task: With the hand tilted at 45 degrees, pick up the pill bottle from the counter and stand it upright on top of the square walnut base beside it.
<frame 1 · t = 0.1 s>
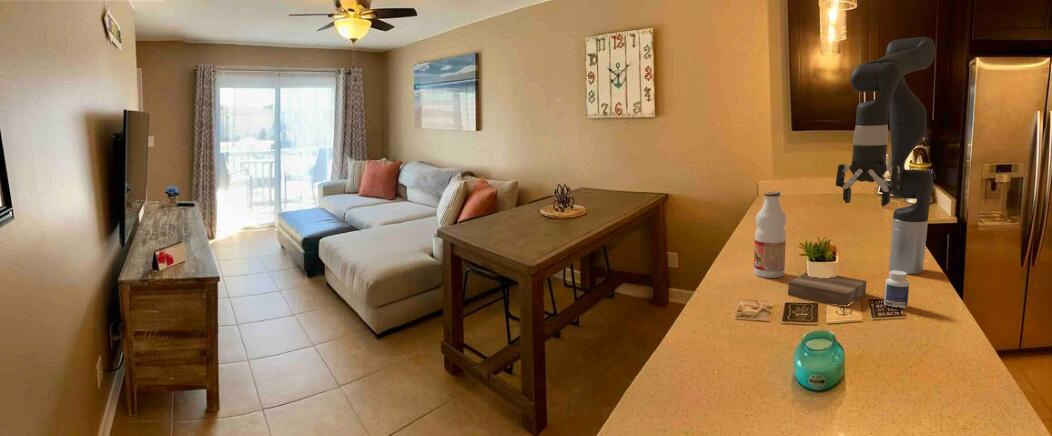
hand: (865, 204, 142), 29 cm above the kitchen counter, tool pointing down, fingers open, 8 cm apart
fruit juice: (768, 274, 180), on the kitchen counter
pill bottle: (895, 306, 148), on the kitchen counter
walnut base: (826, 294, 160), on the kitchen counter
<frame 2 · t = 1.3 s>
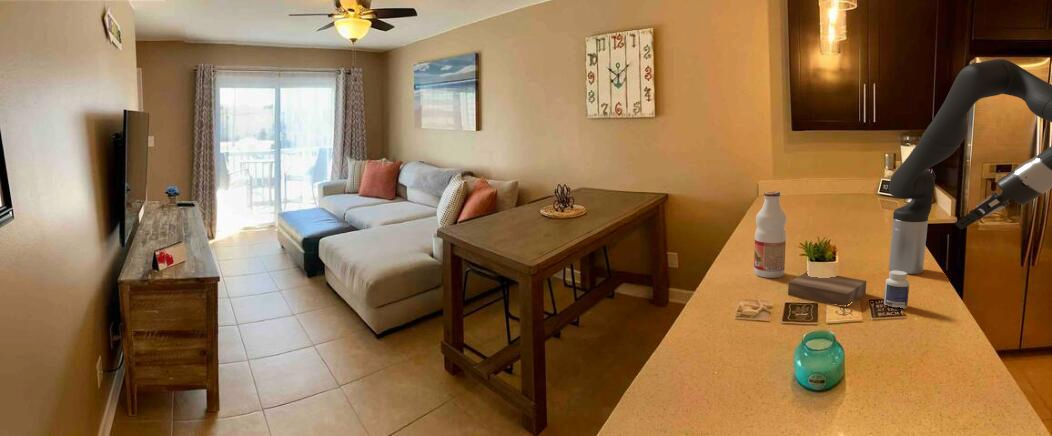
hand: (962, 223, 133), 25 cm above the kitchen counter, tool tilted 45°, fingers open, 8 cm apart
nothing on the kitchen counter moved.
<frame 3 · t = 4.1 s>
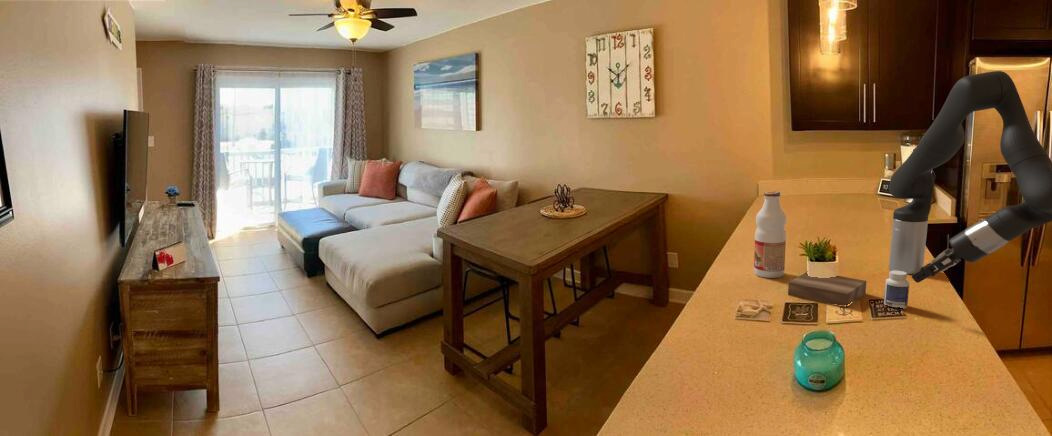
hand: (918, 275, 143), 10 cm above the kitchen counter, tool tilted 45°, fingers open, 8 cm apart
nothing on the kitchen counter moved.
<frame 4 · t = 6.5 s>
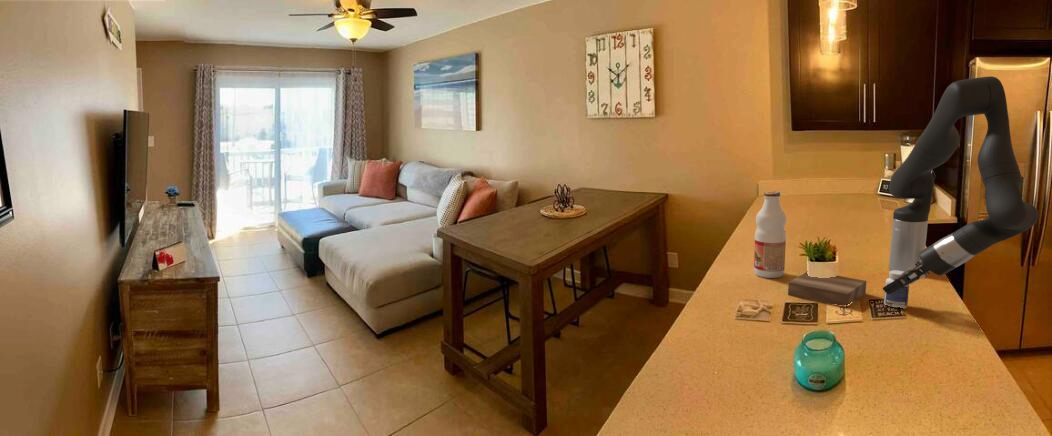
hand: (889, 288, 149), 5 cm above the kitchen counter, tool tilted 45°, fingers closed on pill bottle, 5 cm apart
pill bottle: (895, 306, 148), on the kitchen counter, touching gripper
everything else where it was.
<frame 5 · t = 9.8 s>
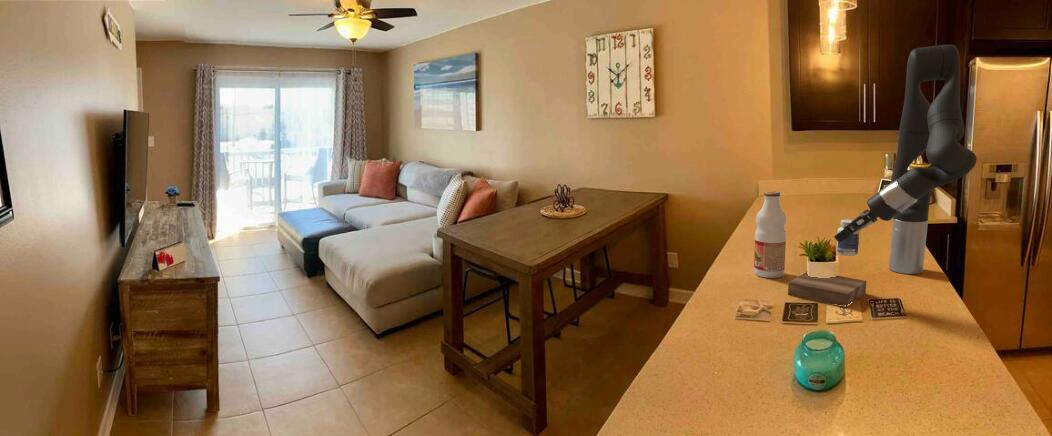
hand: (840, 237, 154), 18 cm above the kitchen counter, tool tilted 45°, fingers closed on pill bottle, 5 cm apart
pill bottle: (846, 254, 154), point 13 cm above the kitchen counter, touching gripper
everything else where it was.
when the fingers open (10 cm above the kitchen counter, at t = 13.0 s): pill bottle drops 1 cm, resting on walnut base.
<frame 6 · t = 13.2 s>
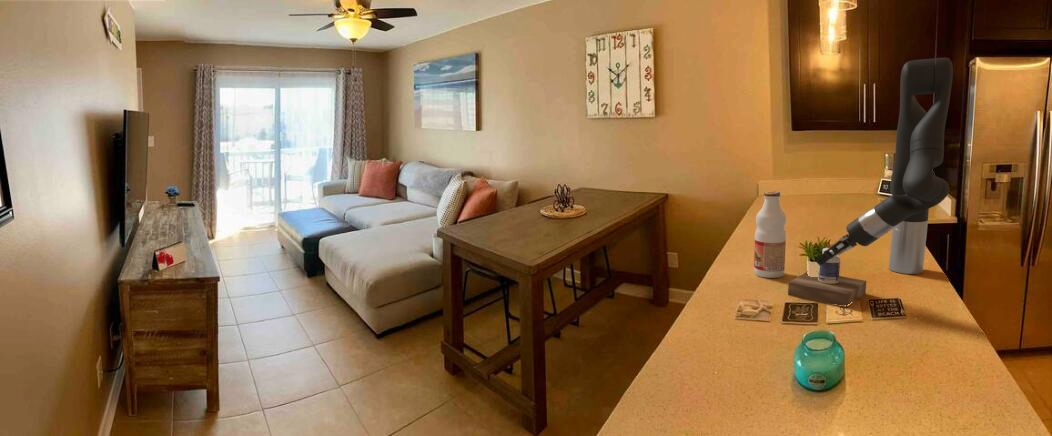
hand: (822, 259, 159), 10 cm above the kitchen counter, tool tilted 45°, fingers open, 6 cm apart
pill bottle: (828, 282, 159), point 4 cm above the kitchen counter, touching walnut base
everything else where it was.
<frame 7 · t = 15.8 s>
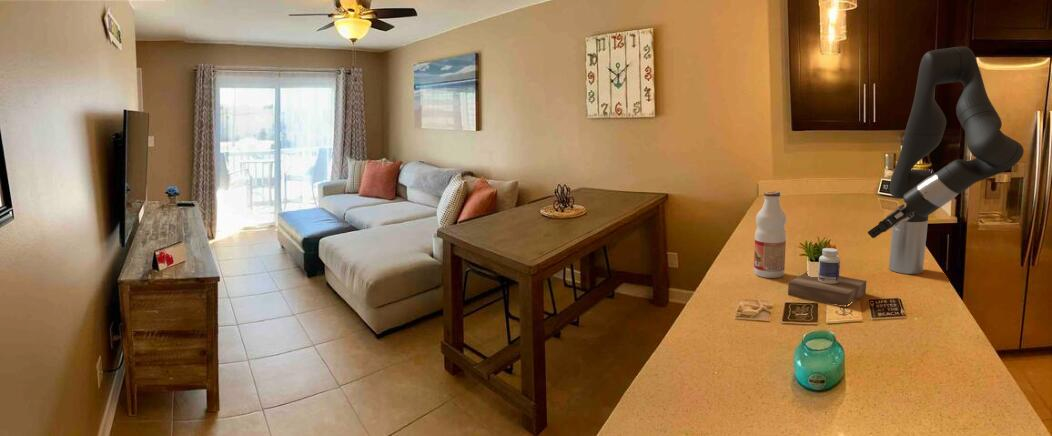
hand: (875, 232, 147), 21 cm above the kitchen counter, tool tilted 45°, fingers open, 8 cm apart
nothing on the kitchen counter moved.
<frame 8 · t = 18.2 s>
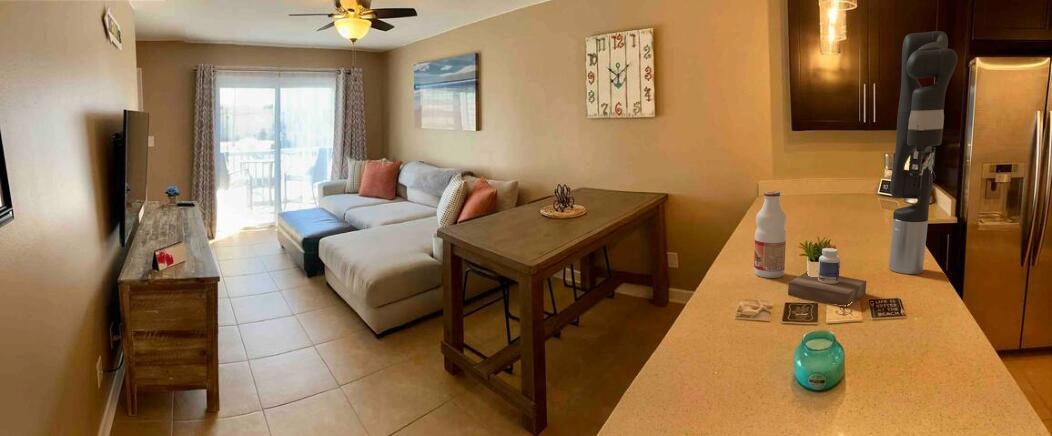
hand: (919, 187, 147), 32 cm above the kitchen counter, tool pointing down, fingers open, 8 cm apart
nothing on the kitchen counter moved.
at the end: pill bottle inside the target area on the walnut base (0.3 cm from its centre), point 3.8 cm above the walnut base's base; pill bottle tilted 0°; the gripper is holding nothing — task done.
